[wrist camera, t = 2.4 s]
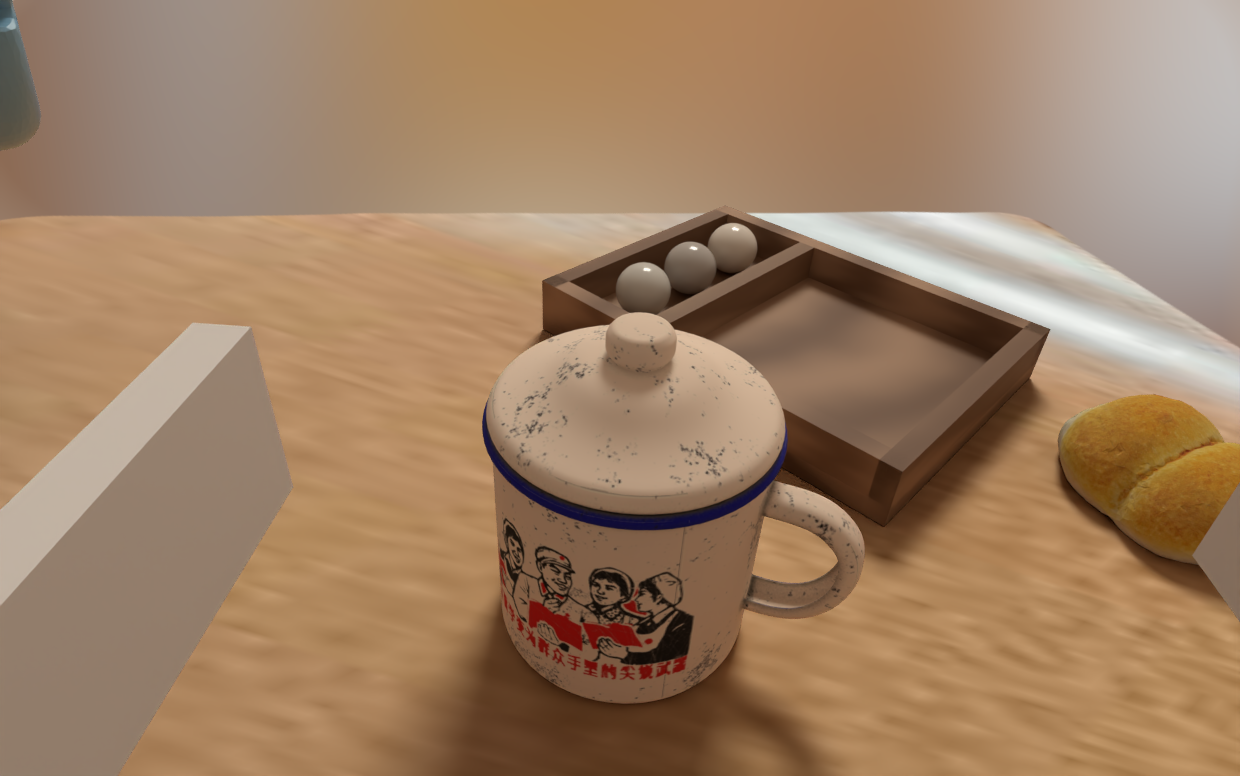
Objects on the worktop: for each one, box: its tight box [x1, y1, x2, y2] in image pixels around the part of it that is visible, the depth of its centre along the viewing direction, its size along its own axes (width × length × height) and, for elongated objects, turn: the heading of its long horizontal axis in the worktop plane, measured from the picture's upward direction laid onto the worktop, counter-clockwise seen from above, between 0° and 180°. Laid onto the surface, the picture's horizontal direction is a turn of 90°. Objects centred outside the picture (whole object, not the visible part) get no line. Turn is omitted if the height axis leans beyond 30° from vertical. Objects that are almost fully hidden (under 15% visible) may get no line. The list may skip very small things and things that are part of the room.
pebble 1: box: [616, 262, 671, 315], centre depth 43 cm, size 3×3×3 cm
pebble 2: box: [664, 242, 716, 294], centre depth 45 cm, size 3×3×3 cm
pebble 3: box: [707, 223, 757, 273], centre depth 48 cm, size 3×3×3 cm
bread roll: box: [1058, 394, 1240, 565], centre depth 33 cm, size 8×9×4 cm
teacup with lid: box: [482, 312, 865, 704], centre depth 25 cm, size 12×9×12 cm
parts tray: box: [542, 206, 1050, 526], centre depth 42 cm, size 21×16×3 cm
